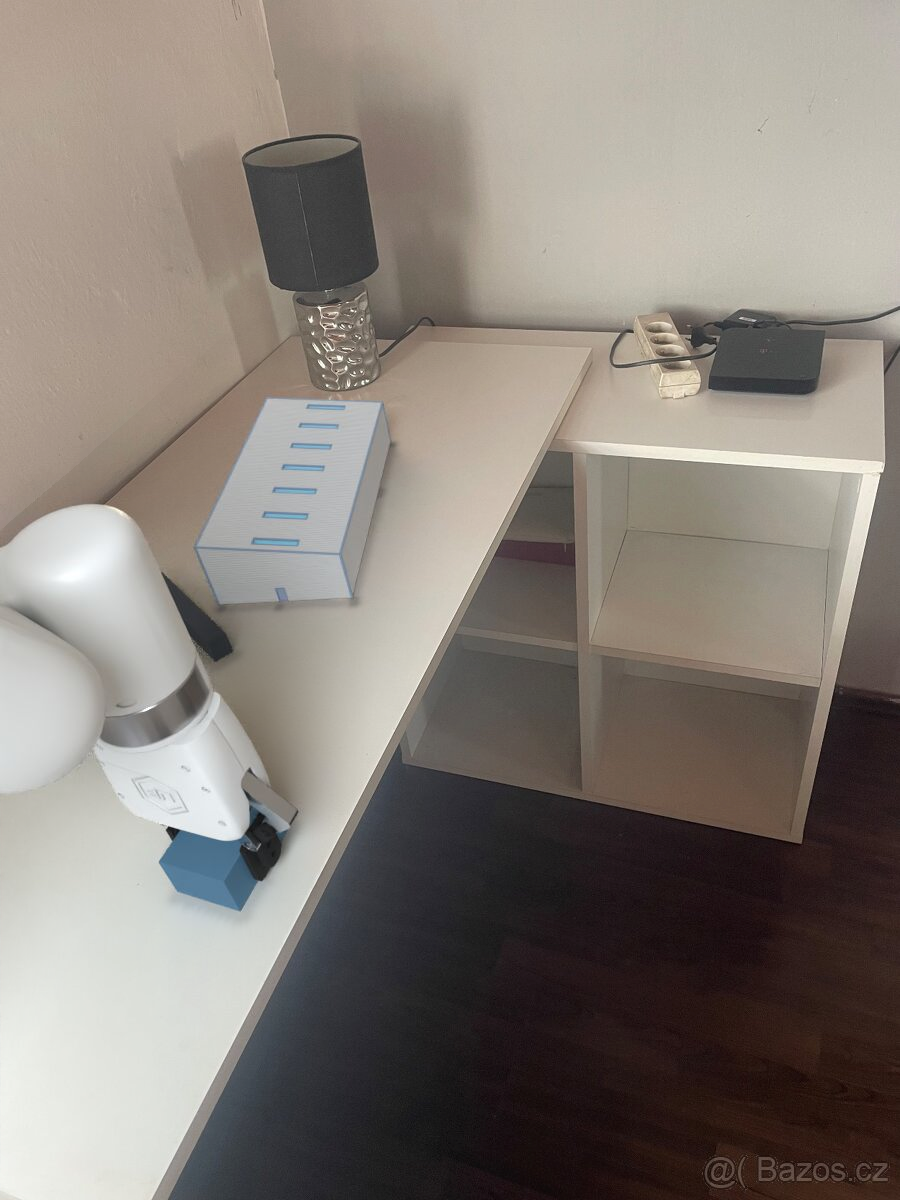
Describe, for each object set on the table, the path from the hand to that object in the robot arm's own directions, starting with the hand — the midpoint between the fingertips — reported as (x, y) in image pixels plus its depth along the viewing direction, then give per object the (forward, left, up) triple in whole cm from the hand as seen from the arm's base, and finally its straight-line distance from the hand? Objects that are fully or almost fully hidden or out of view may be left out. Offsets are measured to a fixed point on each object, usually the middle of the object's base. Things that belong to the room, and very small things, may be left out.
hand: (232, 852), depth 65 cm
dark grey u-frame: (+5, +27, -1) cm, 28 cm away
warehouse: (+29, +33, -1) cm, 45 cm away
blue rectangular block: (0, 0, -1) cm, 1 cm away
